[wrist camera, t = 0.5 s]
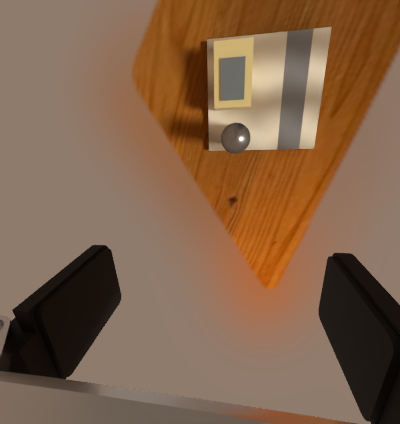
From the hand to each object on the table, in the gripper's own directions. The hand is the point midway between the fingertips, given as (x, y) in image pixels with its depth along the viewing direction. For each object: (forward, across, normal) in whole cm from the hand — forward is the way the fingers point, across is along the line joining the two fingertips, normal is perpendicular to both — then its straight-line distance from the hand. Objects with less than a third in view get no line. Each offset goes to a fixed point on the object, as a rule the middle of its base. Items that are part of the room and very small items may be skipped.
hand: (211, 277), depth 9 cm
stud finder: (+26, -1, -12) cm, 29 cm away
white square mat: (+27, -4, -10) cm, 30 cm away
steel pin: (+26, -1, -5) cm, 27 cm away
